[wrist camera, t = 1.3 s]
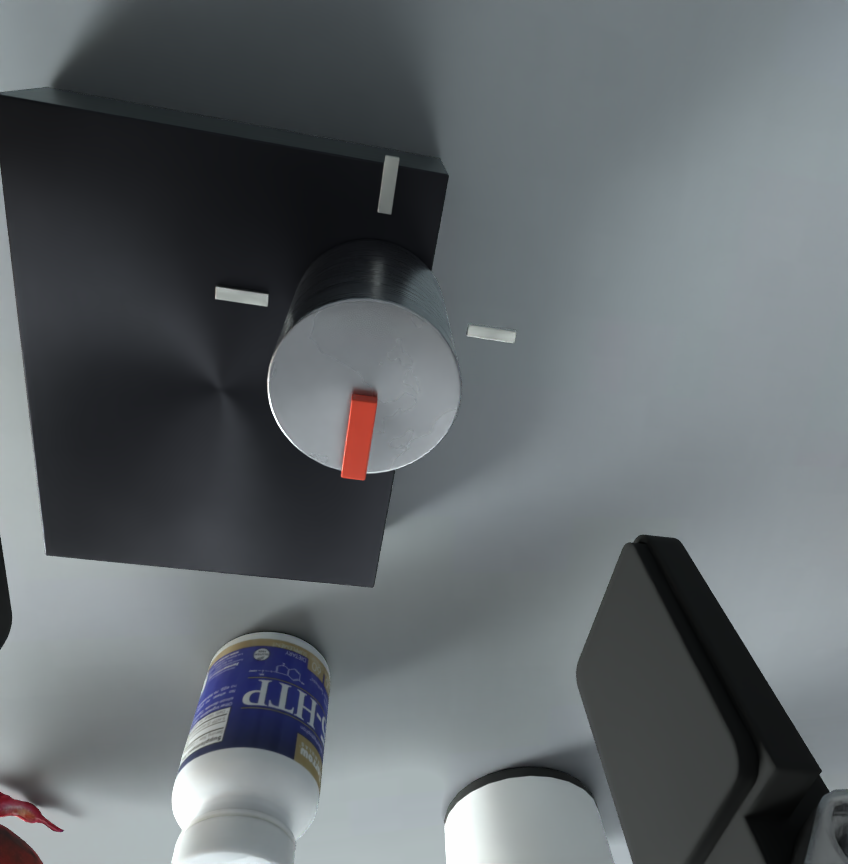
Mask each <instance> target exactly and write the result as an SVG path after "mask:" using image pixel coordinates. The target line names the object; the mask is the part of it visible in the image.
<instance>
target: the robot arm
mask: <svg viewBox="0 0 848 864" xmlns="http://www.w3.org/2000/svg"><path fill="white" fill-rule="evenodd" d="M11 624H12V610H11V604H10V597H9V590H8V584H7V577H6V570H5V564H4V557H3V551H2V544H1V537H0V649H1V648H2V646H3V645H4V643H5V641H6V639H7V637H8V635H9V632H10V629H11ZM576 678H577V685H578V689H579V692H580V695H581V698H582V702H583V705H584V708H585V711H586V714H587V718H588V721H589V724H590V727H591V730H592V734H593V737H594V740H595V743H596V746H597V750H598V753H599V756H600V759H601V762H602V766H603V769H604V772H605V775H606V779H607V782H608V785H609V788H610V791H611V795H612V798H613V801H614V804H615V807H616V811H617V814H618V817H619V820H620V823H621V827H622V830H623V833H624V836H625V839H626V843H627V846H628V849H629V852H630V855H631V859H632V862H633V864H848V789H840V790H833V791H831V792H829V790H828V788H827V787H826V785H825V784H824V782H823V780H822V779H821V777H820V775H819V774H820V773H821V772H822V770H821V769H820V767H819V765H818V764H817V762H816V760H815V759H814V757H813V756H812V754H811V752H810V751H809V749H808V747H807V746H806V744H805V743H804V741H803V739H802V738H801V736H800V734H799V733H798V731H797V730H796V728H795V726H794V725H793V723H792V721H791V720H790V718H789V717H788V715H787V713H786V712H785V710H784V708H783V707H782V705H781V704H780V702H779V700H778V699H777V697H776V695H775V694H774V692H773V691H772V689H771V687H770V686H769V684H768V682H767V681H766V679H765V678H764V676H763V674H762V673H761V671H760V669H759V668H758V666H757V665H756V663H755V661H754V660H753V658H752V656H751V655H750V653H749V652H748V650H747V648H746V647H745V645H744V643H743V642H742V640H741V639H740V637H739V635H738V634H737V632H736V630H735V629H734V627H733V626H732V624H731V622H730V621H729V619H728V617H727V616H726V614H725V613H724V611H723V609H722V608H721V606H720V604H719V603H718V601H717V600H716V598H715V596H714V595H713V593H712V591H711V590H710V588H709V587H708V585H707V583H706V582H705V580H704V578H703V577H702V575H701V574H700V572H699V570H698V569H697V567H696V565H695V564H694V562H693V561H692V559H691V557H690V556H689V554H688V552H687V551H686V549H685V548H684V546H683V544H682V543H681V542H680V541H679V540H678V539H675V538H669V537H660V536H651V535H639V536H638V537H637V538H636V539H635V541H634V543H631V542H629V543H626V544H625V545H624V547H623V549H622V551H621V554H620V556H619V559H618V561H617V564H616V566H615V569H614V572H613V574H612V577H611V579H610V582H609V584H608V587H607V589H606V592H605V594H604V597H603V600H602V602H601V605H600V607H599V610H598V612H597V615H596V617H595V620H594V622H593V625H592V628H591V630H590V633H589V635H588V638H587V640H586V643H585V645H584V648H583V651H582V653H581V656H580V658H579V661H578V664H577V671H576Z"/></svg>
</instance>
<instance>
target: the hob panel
mask: <svg viewBox="0 0 848 864" xmlns="http://www.w3.org/2000/svg"><path fill="white" fill-rule="evenodd" d="M0 167H1V176H2V184H3V193H4V201H5V210H6V219H7V227H8V236H9V245H10V253H11V262H12V270H13V279H14V288H15V296H16V305H17V314H18V322H19V331H20V339H21V348H22V357H23V365H24V374H25V383H26V391H27V400H28V408H29V417H30V426H31V434H32V443H33V452H34V460H35V469H36V477H37V486H38V495H39V503H40V512H41V521H42V529H43V538H44V546H45V555H47V556H57V557H67V558H77V559H87V560H97V561H107V562H117V563H128V564H138V565H148V566H158V567H168V568H178V569H188V570H199V571H209V572H219V573H229V574H239V575H249V576H259V577H269V578H280V579H290V580H300V581H310V582H320V583H330V584H340V585H351V586H361V587H371V588H373V587H374V584H375V578H376V573H377V567H378V562H379V556H380V551H381V545H382V540H383V534H384V529H385V524H386V518H387V513H388V507H389V502H390V496H391V491H392V485H393V480H394V474H395V470H392V471H387V472H381V473H369V474H366V479H365V480H357V479H348V478H342V477H341V471H340V470H337V469H334V468H330V467H328V466H325V465H323V464H321V463H319V462H317V461H315V460H313V459H311V458H310V457H308V456H307V455H305V454H304V453H303V452H301V451H300V450H299V449H298V448H297V447H296V446H295V445H293V444H292V443H291V442H290V440H289V439H288V438H287V437H286V436H285V434H284V433H283V432H282V430H281V428H280V427H279V425H278V424H277V422H276V420H275V417H274V415H273V413H272V410H271V407H270V403H269V399H268V392H267V376H268V369H269V365H270V361H271V358H272V355H273V352H274V349H275V347H276V344H277V341H278V339H279V336H280V333H281V330H282V328H283V325H284V322H285V320H286V317H287V314H288V311H289V309H290V306H291V303H292V301H293V298H294V295H295V293H296V290H297V287H298V285H299V282H300V280H301V278H302V276H303V275H304V273H305V272H306V270H307V269H308V267H309V266H310V265H311V264H312V263H313V262H314V261H315V260H316V259H317V258H318V257H319V256H320V255H322V254H323V253H325V252H326V251H328V250H329V249H331V248H333V247H335V246H337V245H339V244H343V243H346V242H349V241H355V240H364V239H372V240H381V241H386V242H390V243H393V244H396V245H398V246H401V247H403V248H405V249H406V250H408V251H410V252H411V253H413V254H414V255H416V256H417V257H418V258H419V259H420V260H421V261H423V262H424V263H425V264H426V266H427V267H428V268H429V269H430V271H432V266H433V260H434V255H435V249H436V244H437V238H438V233H439V228H440V222H441V217H442V211H443V206H444V200H445V195H446V189H447V184H448V178H449V175H448V173H447V171H446V169H445V167H444V165H443V163H442V161H441V159H440V158H435V157H430V156H424V155H419V154H413V153H408V152H402V151H397V150H391V149H386V148H380V147H375V146H369V145H364V144H358V143H353V142H347V141H342V140H336V139H331V138H325V137H320V136H314V135H309V134H303V133H298V132H292V131H287V130H281V129H276V128H270V127H265V126H259V125H254V124H248V123H243V122H237V121H231V120H226V119H220V118H215V117H209V116H204V115H198V114H193V113H187V112H182V111H176V110H171V109H165V108H160V107H154V106H149V105H143V104H138V103H132V102H127V101H121V100H116V99H110V98H105V97H99V96H94V95H88V94H83V93H77V92H72V91H66V90H61V89H55V88H50V87H44V88H35V89H26V90H17V91H8V92H0ZM516 334H517V331H516V330H512V329H506V328H499V327H493V326H486V325H479V324H473V323H469V324H468V328H467V333H466V335H467V336H468V337H475V338H482V339H489V340H495V341H502V342H509V343H514V342H515V338H516Z"/></svg>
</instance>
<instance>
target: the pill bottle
mask: <svg viewBox="0 0 848 864" xmlns="http://www.w3.org/2000/svg"><path fill="white" fill-rule="evenodd" d="M329 692H330V671H329V667H328V665H327V663H326V661H325V659H324V658H323V656H322V655H321V654H320V653H319V652H318V651H317V650H316V649H315V648H314V647H313V646H311V645H310V644H308V643H307V642H305V641H303V640H301V639H299V638H297V637H294V636H291V635H288V634H283V633H277V632H257V633H251V634H247V635H243V636H241V637H238V638H236V639H234V640H232V641H230V642H228V643H227V644H225V645H224V646H223V647H222V648H221V649H220V650H219V651H218V652H217V653H216V655H215V656H214V658H213V659H212V661H211V664H210V667H209V669H208V672H207V675H206V679H205V682H204V685H203V688H202V692H201V695H200V699H199V702H198V706H197V709H196V712H195V716H194V719H193V722H192V726H191V729H190V732H189V736H188V739H187V743H186V746H185V749H184V752H183V756H182V759H181V763H180V766H179V769H178V773H177V776H176V780H175V784H174V788H173V794H172V808H173V812H174V815H175V818H176V820H177V822H178V824H179V825H180V827H181V828H182V829H183V830H182V831H181V833H180V836H179V839H178V840H177V842H176V845H175V850H174V855H173V859H172V863H171V864H294V858H295V849H296V840H297V839H299V838H300V837H301V836H302V835H303V834H304V833H305V832H306V831H307V830H308V828H309V827H310V825H311V824H312V822H313V820H314V818H315V816H316V813H317V809H318V803H319V796H320V786H321V776H322V765H323V754H324V743H325V733H326V723H327V713H328V702H329Z"/></svg>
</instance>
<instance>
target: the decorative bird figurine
mask: <svg viewBox="0 0 848 864" xmlns="http://www.w3.org/2000/svg"><path fill="white" fill-rule="evenodd" d="M5 816H17V817H19V818H20V819H22V820H24V821H25V822H29V823H35V822H37V823H43V824H45V825H46V826H47V827H49V828H50V829H51V830H53V831H56V832H63V831H64V830H62V829H60V828H58V827H57V826H55V825H54V824H52V823H51V822H50V821H48V820H47V819H46V818H45V817H44V816H42V814H41V812H40V811H39V809H38V808H37V807H36V806H34V805H33V804H31V803H29V802H23V801H20V800H14V799H12V798H11V797H10V796H8V795H5V794H3V793H1V792H0V817H5ZM0 864H43V863H42V861H41V860H40V858H39V856H38V855H37V854H36V852H35V851H34V850H33V849H32V848H31V847H30V846H29V845H28V844H27V843H26V842H25V841H24V840H22V839H21V838H20V837H18V836H17V835H16V834H15V833H13V832H12V831H11V830H9V829H8V828H6V827H5V826H3V825H1V824H0Z"/></svg>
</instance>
